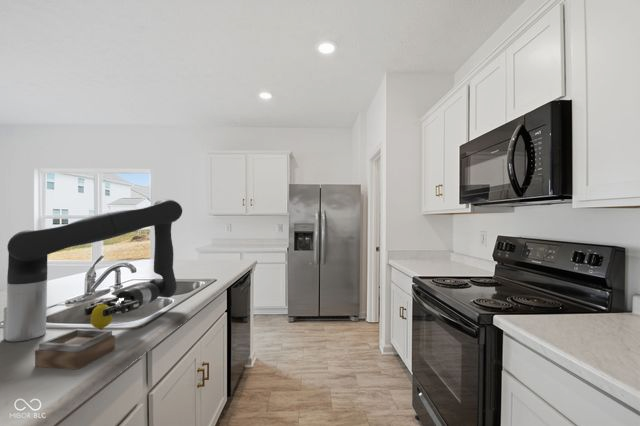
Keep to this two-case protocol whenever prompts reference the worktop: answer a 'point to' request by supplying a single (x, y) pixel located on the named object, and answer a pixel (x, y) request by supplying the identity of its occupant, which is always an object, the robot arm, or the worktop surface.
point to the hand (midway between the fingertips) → (95, 312)
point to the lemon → (100, 317)
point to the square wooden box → (74, 348)
